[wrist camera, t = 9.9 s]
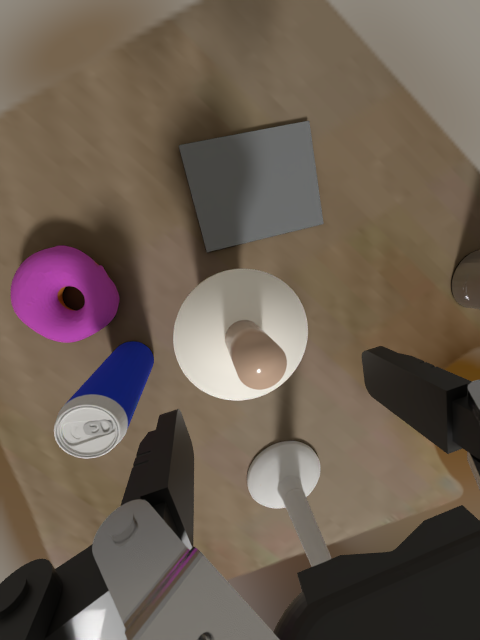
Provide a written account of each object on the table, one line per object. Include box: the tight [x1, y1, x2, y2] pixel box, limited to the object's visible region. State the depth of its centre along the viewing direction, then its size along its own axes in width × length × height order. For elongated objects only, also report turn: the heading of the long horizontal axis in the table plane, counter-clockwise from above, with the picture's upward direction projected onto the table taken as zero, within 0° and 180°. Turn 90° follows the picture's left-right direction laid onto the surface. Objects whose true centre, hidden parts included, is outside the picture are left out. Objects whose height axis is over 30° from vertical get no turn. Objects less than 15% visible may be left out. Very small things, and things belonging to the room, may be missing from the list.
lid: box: [173, 269, 308, 400], centre depth 16 cm, size 10×10×6 cm
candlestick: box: [247, 441, 332, 567], centre depth 27 cm, size 13×13×30 cm
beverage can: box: [54, 341, 154, 458], centre depth 26 cm, size 5×5×15 cm
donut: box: [11, 246, 120, 342], centre depth 28 cm, size 10×10×5 cm
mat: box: [179, 121, 323, 252], centre depth 31 cm, size 16×12×1 cm
